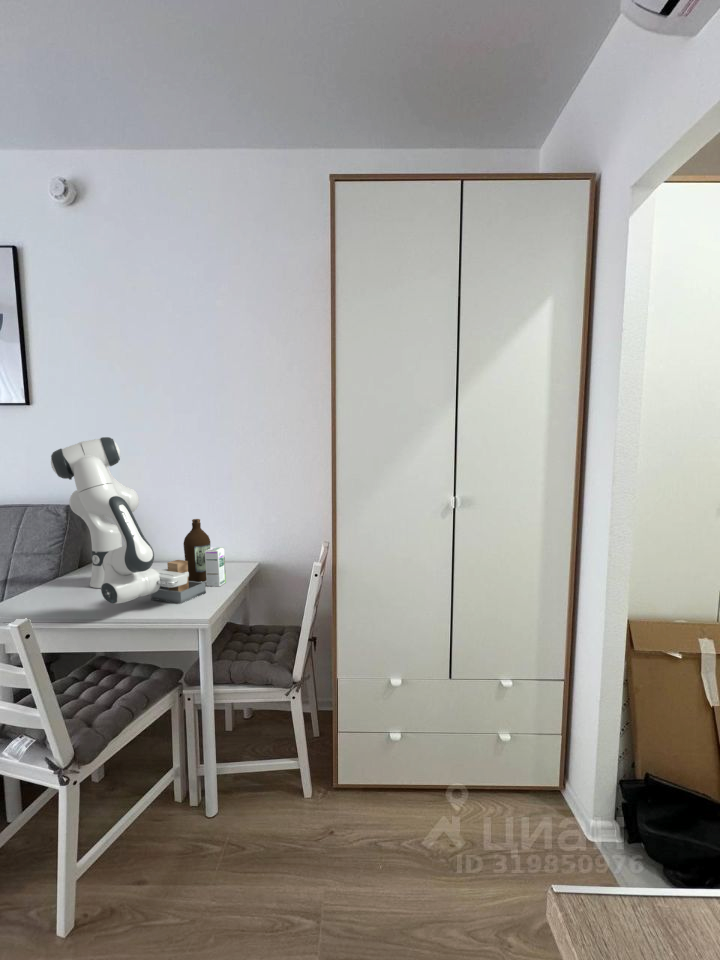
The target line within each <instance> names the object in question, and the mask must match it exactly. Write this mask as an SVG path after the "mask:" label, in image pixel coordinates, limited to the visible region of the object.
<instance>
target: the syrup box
mask: <svg viewBox="0 0 720 960" xmlns="http://www.w3.org/2000/svg"><path fill="white" fill-rule="evenodd" d="M225 559H226V558H225V548H224V547H219V546H217V547H210V549H208V550H206V551H205V563H206V581H205V582H206V586H207V587H214V586H215V587H214V588H216V587H217V588H218V587H220V588H221V586H222V585H224V584H226V583H227V580H226V579H227V577H226V560H225Z"/></svg>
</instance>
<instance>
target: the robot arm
mask: <svg viewBox="0 0 720 960" xmlns="http://www.w3.org/2000/svg"><path fill="white" fill-rule="evenodd" d="M50 458H51V459H50V465H51V468H52V471H53V472H54V473H55V474H56V475H57V476H58V478H60V479H61V478H62V479H64V480H72V479H74V483H75V487H76V490H74V491H73V492H72V493H71V495H70V498H69V507H70V509H71V511H72V512H73V513H74V514H75V515H77V516H78V517H80V518H81V520H83V522H85V524H86V526H87V527H88V530H89V534H90V539H91V540H90V541H91V550H90V559H91V562H92V563H91V574H90V575H91V576H90V581H89V587H91V588H94V589H100V592H101V595H102V597H103V598H104V599H105V600H106V602H107V603H108V602H109V603H111V604H123V603H126V602H130V601H133V600H135V599H137V598H139V597H146V596H148V595H151V594H152V593H155V592H157V591H158V590H159V588H160V586H163V587H177V586H181V585H184V584H186V583H187V577H188V576H189V572H182V573H179V572H172V571H168V568H165V569H164V568H163V569H157V568H152V567H151V566H152V565H153V563H154V561H155V553H154V549H153V546H152V545H151V544H150V543H149V542H148V540H147V539H146V537H145V535H144V534H143V531H142V530H141V528H140V526H139V524H138V521H137V520H136V518H135V515H134V514H133V513H134V512H135V511H136V510H137V508H138V507H139V505H140V497H139V494H138V493H137V491H136V490H135V489H134V488H131V487H130V486H129V487H128V486H127V485H125V484H122V483H121V482H120V481H118V480H117V479H116V478H115V477H114V476H113V474H112V473H111V469H110V468H109V467H112V466H115V465H117V464H118V463H119V461H120V459H121V449H120V447H119V444H118V443H117V442H116V441H115V440H114V438H111V437H108V436H105V437H100V438H97V439H96V438H95V439H88V440H85V441H84V440H83V441H79V442H78V443H75V444H72V445H69V446H66V447H63V448H59V449H55V450H54V451H53V452H52V453H51V455H50ZM107 518H110V519H111V520H112V521H113V522H114V523H112V522H110V521H109V520H108V519H107ZM123 542H124V545H123Z"/></svg>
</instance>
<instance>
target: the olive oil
mask: <svg viewBox="0 0 720 960" xmlns="http://www.w3.org/2000/svg"><path fill="white" fill-rule="evenodd" d="M191 521H192V523H191V526H192V527H191V529H190V531H189V532H188V533H187V534H186V535H185V537H184V539H183V543H182V544H183V553H184V561H188V572H189V576H188V581H194V582H201V581H202V582H207V581H206V563H205V551H206V550H208V549H210V548H211V540H210V536H209V535H208V534H207V533H206V532H205V531H204V529H202V526H201V519H200V518H194V519H193V518H192V519H191Z"/></svg>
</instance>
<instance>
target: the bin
mask: <svg viewBox="0 0 720 960" xmlns="http://www.w3.org/2000/svg"><path fill="white" fill-rule="evenodd" d="M188 583H189V589H186V590H183V591H181V592H179V591H171V590H169V588H168V587H163V586H160V588H159V590H158V591H157V592H155V593H152V594H150V599H151V601H160V602H167V603H173V602H174V603H175V604H180V603H181V604H184V603H186V602H188V601H191V600H193V599H195V597H196V598H197V596H198V597H200V596H202V594H203V595H205V594H207V590H206V589H207V588H206V586H207V584H206V582H204V581H202V582H194V581H188ZM192 598H193V599H192ZM190 599H191V600H190ZM185 601H186V602H185ZM183 602H184V603H183Z"/></svg>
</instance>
